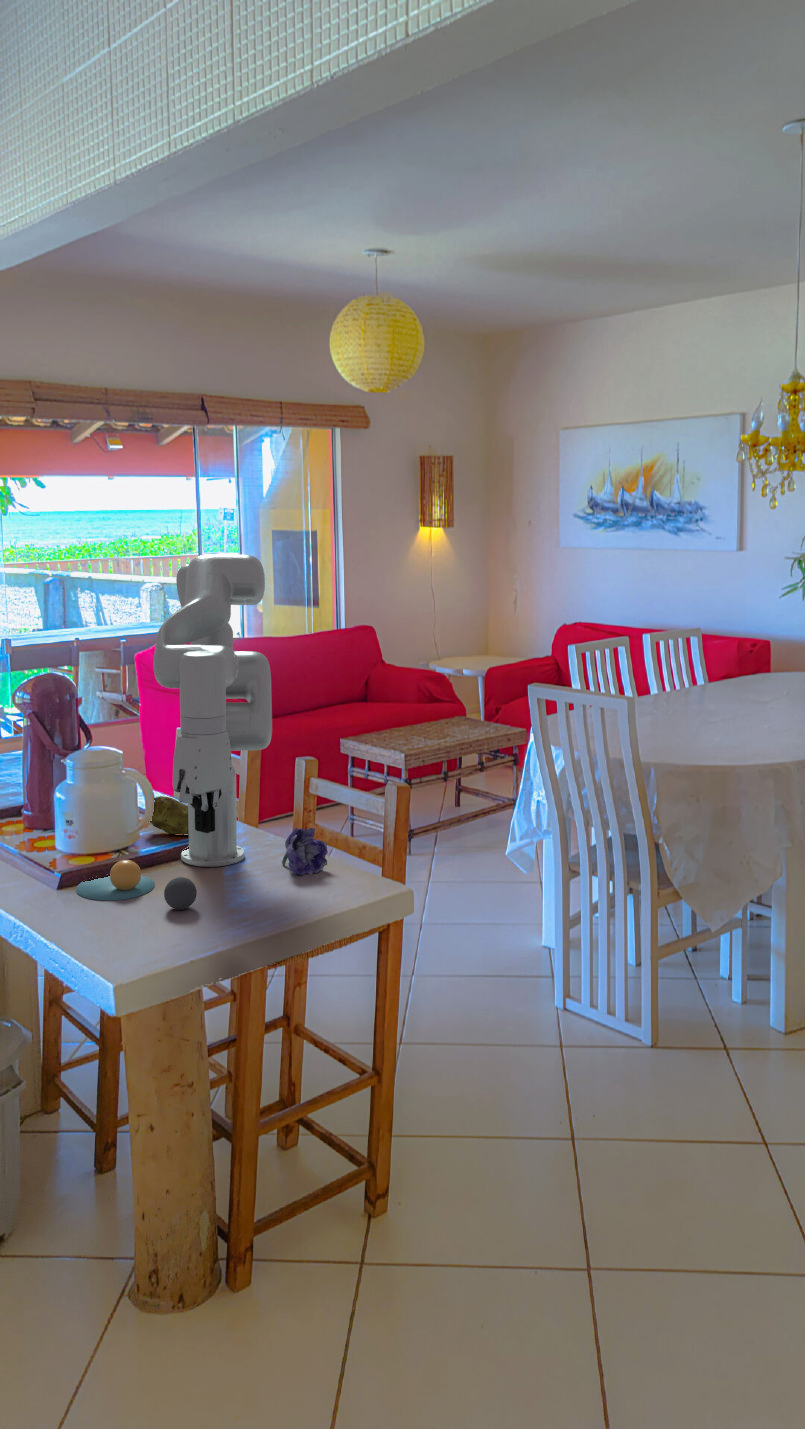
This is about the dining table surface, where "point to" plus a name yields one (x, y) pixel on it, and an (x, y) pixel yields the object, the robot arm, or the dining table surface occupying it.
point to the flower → (305, 852)
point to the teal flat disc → (112, 889)
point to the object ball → (125, 875)
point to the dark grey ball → (180, 893)
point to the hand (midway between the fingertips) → (205, 830)
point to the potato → (170, 815)
